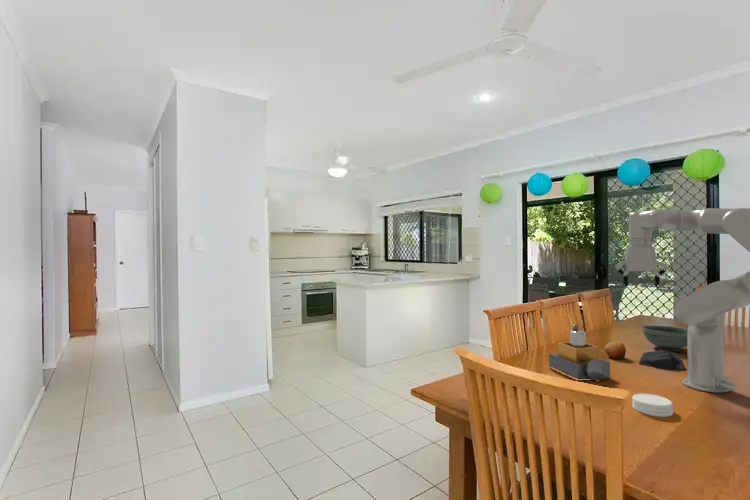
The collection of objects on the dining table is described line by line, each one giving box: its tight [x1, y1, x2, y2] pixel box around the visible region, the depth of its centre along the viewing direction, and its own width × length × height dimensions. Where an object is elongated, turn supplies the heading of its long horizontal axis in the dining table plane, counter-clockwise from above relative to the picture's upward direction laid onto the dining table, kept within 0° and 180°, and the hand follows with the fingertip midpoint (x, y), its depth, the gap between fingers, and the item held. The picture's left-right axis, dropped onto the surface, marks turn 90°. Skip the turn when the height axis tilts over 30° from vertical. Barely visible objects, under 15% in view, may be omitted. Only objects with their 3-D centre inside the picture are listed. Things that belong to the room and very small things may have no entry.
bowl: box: [641, 325, 688, 352], centre depth 184 cm, size 21×21×10 cm
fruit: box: [604, 341, 626, 360], centre depth 172 cm, size 8×8×8 cm
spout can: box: [569, 323, 586, 348], centre depth 151 cm, size 5×5×12 cm
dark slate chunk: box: [638, 349, 686, 371], centre depth 164 cm, size 15×22×5 cm
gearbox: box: [548, 341, 611, 381], centre depth 150 cm, size 18×14×11 cm
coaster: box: [631, 393, 674, 418], centre depth 116 cm, size 10×10×4 cm
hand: (641, 286), depth 153 cm, fingers open, 9 cm apart
